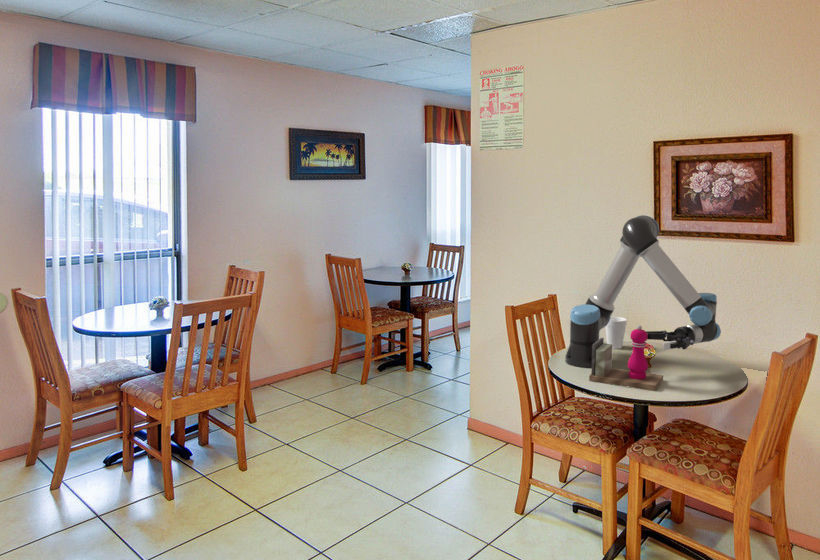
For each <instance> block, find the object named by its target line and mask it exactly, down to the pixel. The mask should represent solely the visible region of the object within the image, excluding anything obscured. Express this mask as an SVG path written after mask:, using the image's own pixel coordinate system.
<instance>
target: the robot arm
mask: <svg viewBox="0 0 820 560" xmlns="http://www.w3.org/2000/svg"><path fill="white" fill-rule="evenodd" d="M659 233H660V227H659V224H658V222H657V221H656V220H655V219H654V217H651V216H649V215H644V214H642V215H637V216H635V217H631V218H630V219H628V220H627V221H626V222H625V223H624V225H623V227H622V233H621V234H622V236H621V238H620V239H619V243H620V247H619V249H618V251H617V252H616V255H615V256H614V258H613V260H612V262H611V264H610V266H609V267H608V269H607V271H606V273H605V275H604V277H603V278H602V280H601V283H599V285H598V288H597V289H596V291H595V293H594V294H592V295H589V297H588V298H587V300H586V302H585V303H584V304H580V305H576V306H573V307H572V308H571V310H570V315H569V316H570V317H569V319H570V324H569V326H570V327H569V329H570V330H569V333H570V334H569V335H570V337H569V345H568V348H567V351H566V354H565V361H564V362H566V364H568V365H571V366H573V365H574V367H580V368H581V367H582V368H592V345H593V344H594V343H595V342H596V341H598V340H599V339H600V331H601V330H602V329H604V328H605V326H606V325H607V324H608V323H609V321H610V317H612V314H613V313H614V311H615V309H616V308H615V305H614V304H615V302H616V300H617V298H618V297H619V294H620V293H621V291H622V290H623V287H624V285H625V284H626V282H627V280H628V278H629V276H630V274H631V273H632V271H633V269H634V268H635V265H636V264H637V262H638V261H639V259H640V258H642V259H643V260H644V262H645V263H646V264H647V265H648V266H649V267H650V269H651V270H652V271H653V272H654V273H655V274H656V276H657V277H658V278H659V280H660V281H661V282H662V284H664V286H665V287H666V289H667V290H668V291H669V292H670V293H671V294H672V295H673V297H674V298H675V299H676V301H677V302H678V303H679V304H680V305H681V306H682V308H683V309H684V310H685V311H686V312H687V314H688V317H689V319H690V321H691V323H692V324H688V325H684V326H683V325H682V326H678V327H676V328H675V329H674V330H673V331H667V330H665V329H664V330H661V331H660V330H658V331H657V330H654V331H653V330H652V331H651V330H648V331H646V330H645V331H646V333H647V336H648V337H647V340H652V341H653V340H655V341H656V340H657V341H663V342H662V343H661V350H662V351H670V350H674V349H682V350H686V349H688V347H690V346H694V345H697V344H700V343H701V344H702V343H706V342H707V343H708V342H711V341H712V342H713V341H715V340H718V339H719V337H720V336H721V333H722V330H721V327H720V325H719V324H718V323H717V321H716V316H717V314H716V313H717V303H718V302H717V297H718V296H717V294H715V293H711V292H698V290H696V289H695V287H694V286H693V285H692V283H691V282H690V281H689V280H688V279H687V277H686V276H685V275H684V274H683V273H682V271H680V269H679V268H678V267H677V266H676V264H675V263H674V261H672V259H671V258H670V257H669V255H667V254H666V252H665V251H664V250H663V248H662V247H661V246H660V240H659V239H658V238H657V237H658V236H659Z"/></svg>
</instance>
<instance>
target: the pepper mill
mask: <svg viewBox="0 0 820 560" xmlns="http://www.w3.org/2000/svg"><path fill="white" fill-rule="evenodd" d="M629 336H630V339H631V340H632V341H631V346H632V352H631V354H630V357H629V359H628V361H627V368H628V370H630V371H629V375H628V376H629V377H630V378H632V379H645V378H646V373H647V372H646V371H647V370H648V368H649V364H648V360H647V358H646V355H645V347H646V345H647V341H648V339H647V337H648V336H647V333H646V330H644V329H643V328H642V325H640V324H639V325H637V326H636V328H635V329H632V331H631V332H630V335H629Z"/></svg>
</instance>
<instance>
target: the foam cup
mask: <svg viewBox="0 0 820 560" xmlns="http://www.w3.org/2000/svg"><path fill="white" fill-rule="evenodd" d="M627 325H628V320H627V318H626V317H620V316H619V317H618V316H611V317H610V321H609V323H608V324H607V325H606V326H605V327H604V328H605V337H606V344H612V350H621V349H622V348H623V345H624V339H625V334H626V328H627Z"/></svg>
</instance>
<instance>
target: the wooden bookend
mask: <svg viewBox="0 0 820 560" xmlns="http://www.w3.org/2000/svg"><path fill="white" fill-rule="evenodd" d="M604 340H605V338H604V337H599V340H598V341H596V342H595V343H594V344H593V345H592V367H591V371H590V374H589V377H588V378H589V379H588V381H590V382H594V383H595V382H596V383H600V384H608V385H613V384H615V385H614V386H620V385H622V386H621V387H626V386H629V387H628V388H633V387H634V388H633V389H639V388H640V389H639V390H646V391H647V390H648V391H652V392H654V391H655V392H656V391H657V389H658V388H659V387H660V386H661V384H662V382H664V375H663V374H657V373H651V372H650V373H649V372H646V378H645V379H632V378H630V377H629V376H628V375H629V371H630V370H629V369H621V368H614V367H612V366H613V365H612V363H613V359H612V357H613V349H612V344H607V342H606V343H604V342H605V341H604Z"/></svg>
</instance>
